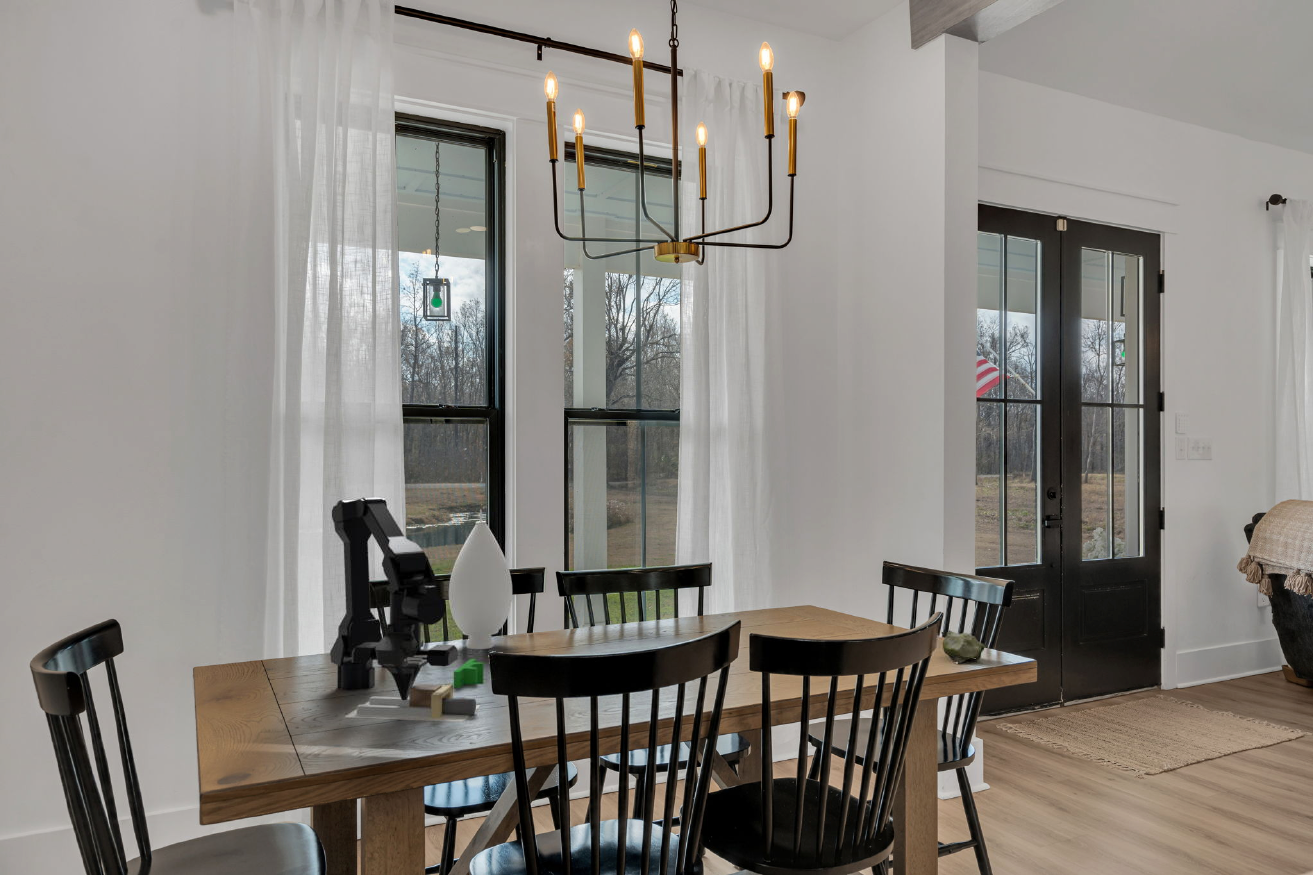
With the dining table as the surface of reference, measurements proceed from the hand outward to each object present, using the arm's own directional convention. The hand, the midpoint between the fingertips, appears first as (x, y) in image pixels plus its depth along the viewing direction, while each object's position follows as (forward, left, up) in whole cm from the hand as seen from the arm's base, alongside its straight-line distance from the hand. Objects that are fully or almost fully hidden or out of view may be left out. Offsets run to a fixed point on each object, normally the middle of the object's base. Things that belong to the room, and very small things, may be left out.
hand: (404, 699), depth 163 cm
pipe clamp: (+5, +22, -4) cm, 23 cm away
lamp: (-4, +58, -3) cm, 58 cm away
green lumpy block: (+116, +59, -3) cm, 130 cm away
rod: (+10, 0, -2) cm, 10 cm away
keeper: (+4, 0, -2) cm, 5 cm away
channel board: (+2, 0, -3) cm, 4 cm away
